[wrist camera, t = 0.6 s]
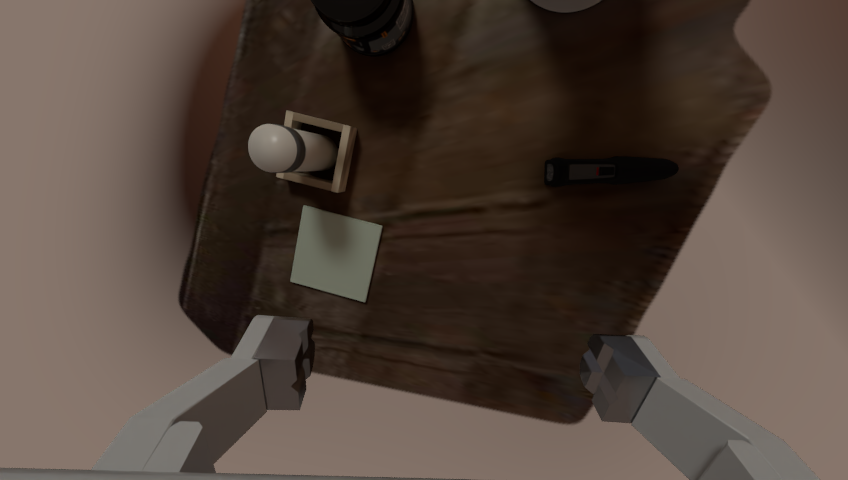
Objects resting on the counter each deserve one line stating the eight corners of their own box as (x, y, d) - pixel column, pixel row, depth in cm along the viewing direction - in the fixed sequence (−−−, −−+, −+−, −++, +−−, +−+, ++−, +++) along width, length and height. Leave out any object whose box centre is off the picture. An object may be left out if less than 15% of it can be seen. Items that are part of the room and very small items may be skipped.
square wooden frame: (296, 113, 53) (286, 110, 50) (357, 128, 52) (350, 126, 49) (286, 176, 55) (276, 176, 52) (345, 191, 54) (337, 192, 51)
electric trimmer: (664, 184, 49) (678, 185, 46) (543, 186, 51) (548, 187, 48) (667, 154, 48) (681, 153, 45) (544, 158, 50) (550, 157, 47)
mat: (305, 205, 55) (303, 205, 54) (382, 226, 54) (381, 226, 54) (292, 280, 58) (290, 281, 57) (366, 301, 57) (364, 302, 56)
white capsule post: (307, 130, 53) (250, 117, 39) (341, 139, 53) (297, 129, 39) (301, 166, 54) (244, 166, 40) (335, 175, 54) (289, 178, 40)
